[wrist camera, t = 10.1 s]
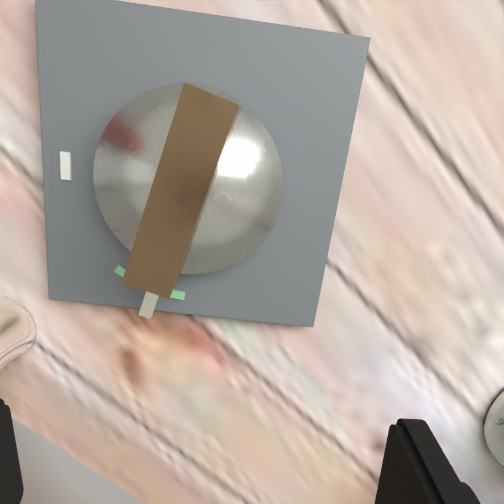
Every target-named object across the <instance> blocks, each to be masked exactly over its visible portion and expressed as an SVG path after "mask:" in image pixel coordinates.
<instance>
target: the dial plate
mask: <svg viewBox="0 0 504 504" xmlns="http://www.w3.org/2000/svg"><path fill="white" fill-rule="evenodd" d="M35 2H36V25H37V47H38V69H39V91H40V113H41V135H42V157H43V179H44V201H45V223H46V245H47V268H48V290H49V299H54V300H63V301H72V302H82V303H91V304H100V305H109V306H119V307H128V308H137V309H141V306H142V303H143V300H144V297H145V294H146V291H144V290H141V289H138V288H135V287H132V286H129V285H126V284H124V283H122V279H123V276H124V273H125V270H126V267H127V263H128V260H129V257H130V254H131V252H130V251H129V250H128V249H127V248H126V247H125V246H124V245H123V244H122V243H121V242H120V241H119V240H118V239H117V238H116V236H115V235H114V234H113V233H112V231H111V230H110V228H109V227H108V225H107V223H106V222H105V220H104V218H103V215H102V213H101V211H100V208H99V205H98V203H97V199H96V195H95V190H94V180H93V169H94V159H95V154H96V149H97V146H98V143H99V141H100V138H101V136H102V134H103V132H104V130H105V128H106V126H107V125H108V123H109V122H110V121H111V119H112V118H113V116H114V115H115V114H116V113H117V112H118V111H119V110H120V109H121V108H122V107H123V106H124V105H125V104H127V103H128V102H129V101H131V100H132V99H133V98H135V97H137V96H139V95H140V94H142V93H144V92H146V91H149V90H151V89H154V88H157V87H161V86H165V85H172V84H184V82H186V83H188V84H196V85H201V86H206V87H210V88H213V89H216V90H219V91H222V92H224V93H226V94H228V95H230V96H232V97H234V98H235V99H236V100H238V101H239V102H241V103H242V104H244V105H245V106H246V107H247V108H248V109H250V110H251V111H252V112H253V113H254V114H255V115H256V116H257V117H258V119H259V120H260V121H261V122H262V123H263V124H264V126H265V128H266V129H267V131H268V132H269V134H270V135H271V137H272V139H273V141H274V144H275V146H276V148H277V151H278V154H279V157H280V160H281V166H282V171H283V197H282V202H281V207H280V210H279V213H278V216H277V219H276V221H275V223H274V225H273V227H272V229H271V231H270V233H269V234H268V235H267V237H266V238H265V240H264V241H263V242H262V243H261V244H260V246H259V247H258V248H257V249H256V250H255V251H253V252H252V253H251V254H250V255H249V256H248V257H246V258H245V259H243V260H241V261H240V262H238V263H236V264H234V265H232V266H230V267H228V268H225V269H222V270H219V271H216V272H211V273H206V274H180V276H179V278H178V280H177V282H176V285H175V287H174V289H173V291H172V294H171V296H170V298H169V299H167V298H164V297H161V296H159V298H158V301H157V304H156V307H155V310H156V311H165V312H175V313H184V314H193V315H203V316H212V317H221V318H231V319H240V320H249V321H258V322H268V323H277V324H286V325H296V326H305V327H313V325H314V320H315V315H316V310H317V305H318V300H319V295H320V290H321V285H322V280H323V275H324V270H325V265H326V260H327V255H328V250H329V245H330V240H331V235H332V230H333V225H334V220H335V215H336V210H337V205H338V200H339V194H340V189H341V184H342V179H343V174H344V169H345V164H346V159H347V154H348V149H349V144H350V139H351V134H352V129H353V124H354V119H355V114H356V109H357V104H358V99H359V94H360V89H361V84H362V79H363V74H364V69H365V64H366V58H367V53H368V48H369V43H370V37H363V36H356V35H349V34H342V33H335V32H328V31H322V30H315V29H308V28H301V27H294V26H287V25H280V24H274V23H267V22H260V21H253V20H246V19H239V18H232V17H226V16H219V15H212V14H205V13H198V12H191V11H184V10H178V9H171V8H164V7H157V6H150V5H143V4H136V3H130V2H123V1H116V0H35Z"/></svg>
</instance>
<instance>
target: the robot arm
mask: <svg viewBox="0 0 504 504" xmlns="http://www.w3.org/2000/svg"><path fill="white" fill-rule="evenodd" d="M484 437H485V440H486V444H487V446H488V448H489V450H490V451H491V453H492V454H493V455H494V457H495V458H496V459H497V460H498V462H499V463H500V464H501V465H503V466H504V391H503V392H502V393H501V394H500V395H499V396H498V397H497V399H496V400H495V402H494V403H493V404H492V406H491V408H490V410H489V412H488V414H487V416H486V420H485V425H484ZM22 496H23V482H22V477H21V470H20V465H19V459H18V453H17V447H16V441H15V435H14V429H13V424H12V417H11V412H10V408H9V406H8V405H5V404H4V401H3V400H2V399H0V504H20V502H21V499H22ZM375 504H480V502H479V500H478V498H477V497H476V495H475V493H474V492H473V491H472V489H471V488H470V487H469V486H468V485H467V484H466V483H464V482H460V480H459V478H458V477H457V475H456V473H455V472H454V470H453V468H452V466H451V465H450V463H449V461H448V459H447V458H446V456H445V454H444V452H443V451H442V449H441V447H440V446H439V444H438V442H437V440H436V439H435V437H434V435H433V433H432V432H431V430H430V428H429V426H428V425H427V423H426V422H425V421H424V420H420V419H398V421H397V423H396V425H393V424H392V425H391V426H390V428H389V433H388V438H387V443H386V448H385V453H384V458H383V463H382V469H381V474H380V479H379V484H378V489H377V494H376V499H375Z"/></svg>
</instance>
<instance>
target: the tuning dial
mask: <svg viewBox="0 0 504 504" xmlns="http://www.w3.org/2000/svg"><path fill="white" fill-rule="evenodd" d="M93 180H94V190H95V195H96V199H97V203H98V205H99V208H100V211H101V213H102V215H103V218H104V220H105V222H106V223H107V225H108V227H109V228H110V230H111V231H112V233H113V234H114V235H115V236H116V238H117V239H118V240H119V241H120V242H121V243H122V244H123V245H124V246H125V247H126V248H127V249H128V250H129V251H130V252H131V254H130V257H129V260H128V263H127V267H126V270H125V273H124V276H123V279H122V283H124V284H126V285H129V286H132V287H135V288H138V289H141V290H144V291H146V294H145V297H144V300H143V303H142V306H141V309H140V312H139V315H140V316H143V317H146V318H149V319H151V318H152V316H153V313H154V310H155V307H156V304H157V301H158V298H159V296H161V297H164V298H167V299H169V298H170V296H171V294H172V291H173V289H174V287H175V285H176V282H177V280H178V278H179V276H180V274H206V273H211V272H216V271H219V270H222V269H225V268H228V267H230V266H232V265H234V264H236V263H238V262H240V261H241V260H243V259H245V258H246V257H248V256H249V255H250V254H251V253H252V252H253V251H255V250H256V249H257V248H258V247H259V246H260V244H261V243H262V242H263V241H264V240H265V238H266V237H267V235H268V234H269V233H270V231H271V229H272V227H273V225H274V223H275V221H276V219H277V216H278V213H279V210H280V207H281V202H282V197H283V171H282V166H281V160H280V157H279V154H278V151H277V148H276V146H275V144H274V141H273V139H272V137H271V135H270V134H269V132H268V131H267V129H266V128H265V126H264V124H263V123H262V122H261V121H260V120H259V119H258V117H257V116H256V115H255V114H254V113H253V112H252V111H251V110H250V109H248V108H247V107H246V106H245V105H244V104H242V103H241V102H239V101H238V100H236V99H235V98H234V97H232V96H230V95H228V94H226V93H224V92H222V91H219V90H216V89H213V88H210V87H206V86H201V85H196V84H188V83H186V82H184V84H172V85H165V86H161V87H157V88H154V89H151V90H149V91H146V92H144V93H142V94H140V95H139V96H137V97H135V98H133V99H132V100H131V101H129V102H128V103H127V104H125V105H124V106H123V107H122V108H121V109H120V110H119V111H118V112H117V113H116V114H115V115H114V116H113V118H112V119H111V121H110V122H109V123H108V125H107V126H106V128H105V130H104V132H103V134H102V136H101V138H100V141H99V143H98V146H97V149H96V154H95V159H94V169H93Z"/></svg>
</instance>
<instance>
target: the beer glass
mask: <svg viewBox="0 0 504 504" xmlns="http://www.w3.org/2000/svg"><path fill="white" fill-rule="evenodd" d="M35 336H36V327H35V323H34V321H33V319H32V317H31V315H30V314H29V312H28V311H27V310H26V309H25V308H24V307H23V306H22V305H20V304H19V303H17V302H16V301H14V300H12V299H9V298H6V297H2V296H0V371H1V370H2V369H3V368H4V367H5V366H6V365H7V364H8V363H9V362H11V361H12V360H13V359H15V358H17V357H18V356H20V355H21V354H23V353H25V352H26V351H27V350H28V349H29V348H30V347H31V346H32V344H33V342H34V340H35Z"/></svg>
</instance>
